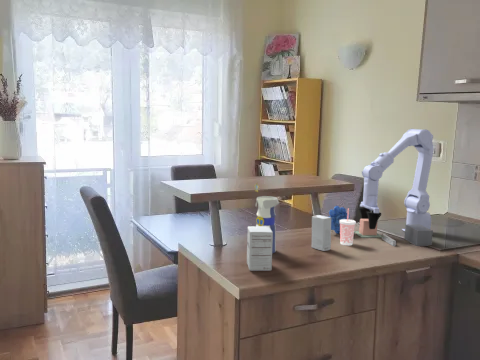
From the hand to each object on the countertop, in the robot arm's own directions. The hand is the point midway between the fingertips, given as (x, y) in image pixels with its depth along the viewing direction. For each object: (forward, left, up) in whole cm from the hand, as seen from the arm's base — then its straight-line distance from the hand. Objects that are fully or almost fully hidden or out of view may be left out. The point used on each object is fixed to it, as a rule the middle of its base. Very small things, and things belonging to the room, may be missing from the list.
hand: (368, 226), depth 188 cm
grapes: (+12, -1, -4) cm, 13 cm away
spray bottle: (+47, +21, -4) cm, 52 cm away
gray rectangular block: (-16, +12, -3) cm, 20 cm away
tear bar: (-4, +12, -3) cm, 13 cm away
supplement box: (+52, +38, -4) cm, 65 cm away
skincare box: (+26, +19, -4) cm, 32 cm away
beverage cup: (+14, +13, -4) cm, 19 cm away
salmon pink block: (0, 0, -3) cm, 3 cm away
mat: (0, 0, -3) cm, 3 cm away
